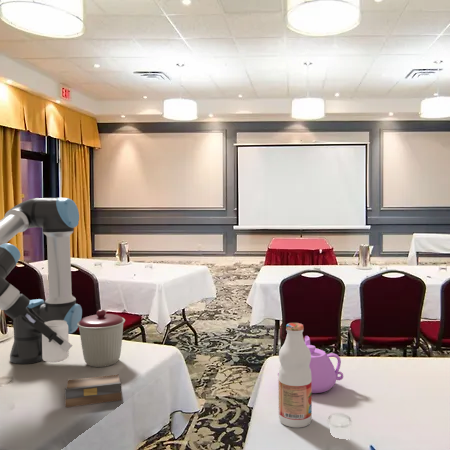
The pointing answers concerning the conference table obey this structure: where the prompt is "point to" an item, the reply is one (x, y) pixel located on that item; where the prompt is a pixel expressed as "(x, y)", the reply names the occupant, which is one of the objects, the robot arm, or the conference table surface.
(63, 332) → the beverage can
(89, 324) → the canister
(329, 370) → the teapot
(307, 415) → the fruit juice
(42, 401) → the conference table surface
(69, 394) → the shelf board
